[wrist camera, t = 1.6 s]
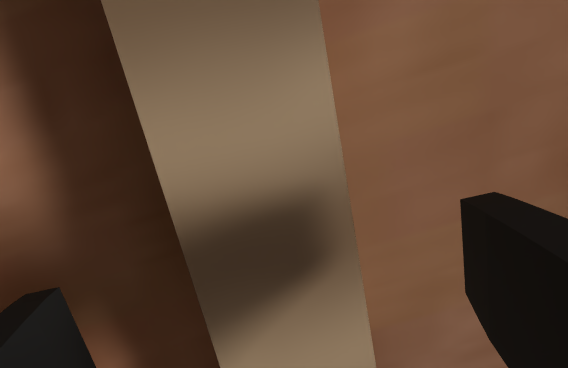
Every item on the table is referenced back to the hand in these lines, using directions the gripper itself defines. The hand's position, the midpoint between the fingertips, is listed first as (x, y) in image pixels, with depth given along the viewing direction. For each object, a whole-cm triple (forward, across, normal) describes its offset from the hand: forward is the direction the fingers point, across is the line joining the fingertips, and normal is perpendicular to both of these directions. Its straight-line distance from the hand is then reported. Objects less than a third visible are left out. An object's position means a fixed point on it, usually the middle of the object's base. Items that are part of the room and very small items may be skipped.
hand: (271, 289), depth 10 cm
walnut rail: (+7, 0, -1) cm, 7 cm away
